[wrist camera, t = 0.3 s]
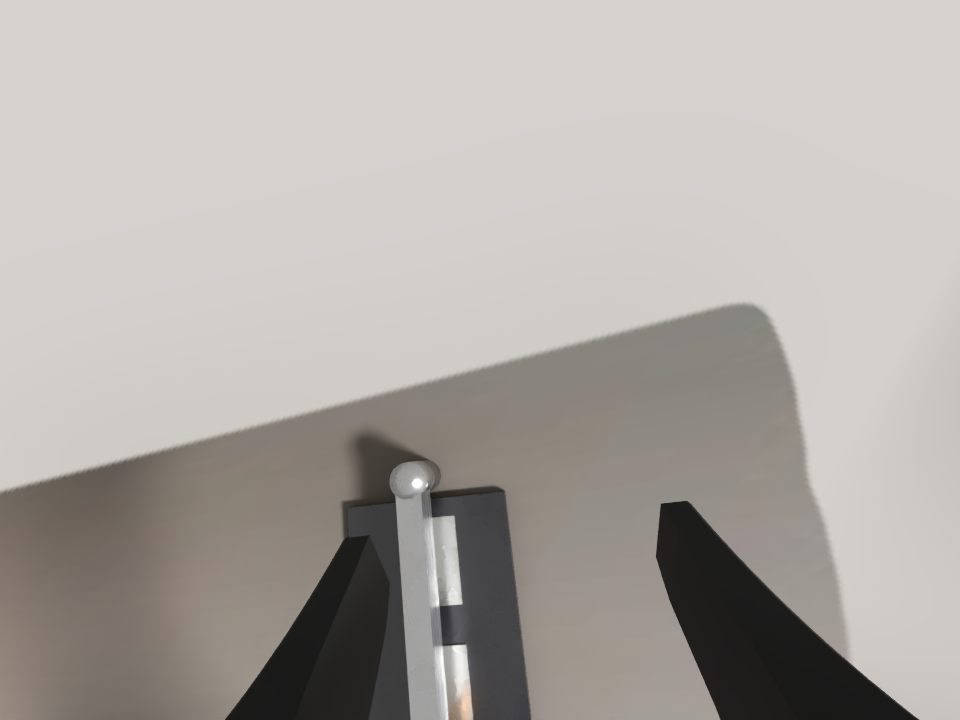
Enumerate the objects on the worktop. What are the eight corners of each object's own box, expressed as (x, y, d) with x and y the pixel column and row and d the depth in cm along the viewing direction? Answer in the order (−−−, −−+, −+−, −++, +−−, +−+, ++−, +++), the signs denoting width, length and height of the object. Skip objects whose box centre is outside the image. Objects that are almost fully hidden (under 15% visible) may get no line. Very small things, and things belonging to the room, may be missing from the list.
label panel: (535, 752, 35) (535, 777, 32) (364, 761, 36) (351, 785, 34) (500, 451, 40) (498, 451, 37) (349, 468, 41) (337, 469, 38)
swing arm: (457, 759, 33) (450, 792, 30) (420, 761, 33) (409, 793, 30) (432, 459, 37) (423, 460, 34) (399, 462, 38) (387, 464, 35)
